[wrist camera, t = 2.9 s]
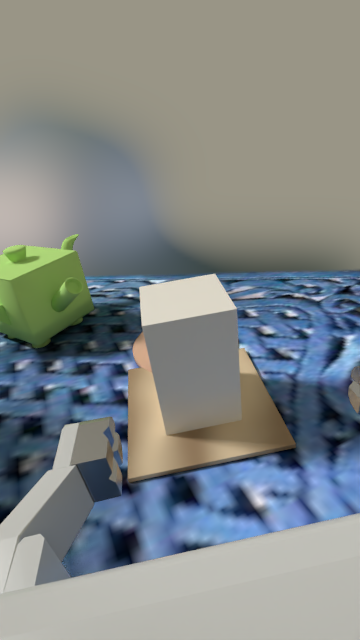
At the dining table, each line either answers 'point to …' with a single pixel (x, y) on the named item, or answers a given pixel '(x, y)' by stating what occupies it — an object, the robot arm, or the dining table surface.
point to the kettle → (41, 292)
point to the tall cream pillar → (193, 352)
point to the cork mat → (205, 443)
